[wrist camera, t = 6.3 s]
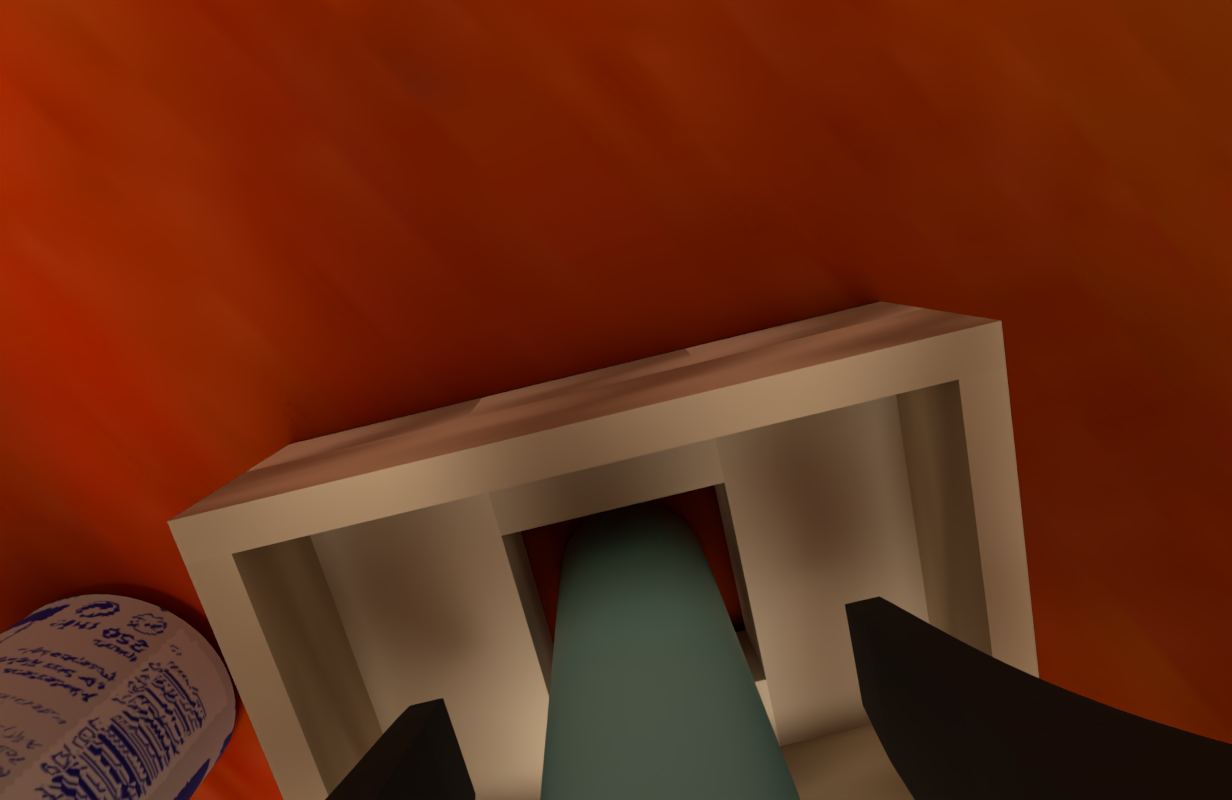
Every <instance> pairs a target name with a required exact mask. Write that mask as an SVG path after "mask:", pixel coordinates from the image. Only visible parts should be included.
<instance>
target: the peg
mask: <svg viewBox="0 0 1232 800" xmlns="http://www.w3.org/2000/svg"><path fill="white" fill-rule="evenodd" d="M540 800H800V797H799V794H798V792H797V789H796V787H795V784H794V782H793V779H792V776H791V774H790V771H789V769H788V766H787V764H786V761H785V758H784V756H783V753H782V751H781V748H780V746H779V743H778V740H777V738H776V735H775V733H774V730H773V728H772V725H771V722H770V720H769V717H768V715H767V712H766V710H765V707H764V704H763V702H762V699H761V697H760V694H759V692H758V689H757V686H756V684H755V681H754V679H753V676H752V674H751V671H750V668H749V666H748V663H747V661H746V658H745V656H744V653H743V650H742V648H741V645H740V643H739V640H738V638H737V635H736V632H735V630H734V627H733V625H732V622H731V620H730V617H729V614H728V612H727V609H726V607H725V604H724V602H723V599H722V596H721V594H720V591H719V589H718V586H717V583H716V581H715V578H714V576H713V573H712V571H711V568H710V565H709V563H708V560H707V558H706V555H705V553H704V550H703V547H702V545H701V542H700V540H699V539H698V537H697V535H696V533H695V532H694V531H693V529H692V528H691V527H690V526H689V525H688V524H687V523H686V522H685V521H684V520H683V519H682V518H680V517H679V516H678V515H676V514H675V513H673V512H671V511H669V510H667V509H665V508H662V507H660V506H656V505H652V504H647V503H637V504H633V505H628V506H624V507H620V508H616V509H612V510H607V511H603V512H599V513H595V514H594V515H592V516H591V517H589V518H588V519H587V520H585V521H584V522H583V523H582V524H581V525H580V526H579V527H578V528H577V529H576V531H575V532H574V533H573V535H572V536H571V538H570V539H569V541H568V543H567V545H566V548H565V550H564V553H563V557H562V562H561V571H560V582H559V593H558V604H557V616H556V627H555V638H554V649H553V660H552V671H551V683H550V694H549V705H548V716H547V727H546V739H545V750H544V761H543V772H542V783H541V795H540Z"/></svg>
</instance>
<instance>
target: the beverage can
mask: <svg viewBox="0 0 1232 800" xmlns="http://www.w3.org/2000/svg"><path fill="white" fill-rule="evenodd" d="M235 713H236V709H235V696H234V690H233V686H232V683H231V680H230V677H229V674H228V672H227V670H226V668H225V666H224V664H223V662H222V660H221V658H220V657H219V656H218V654H217V653H216V651H215V650H214V649H213V647H212V646H211V645H210V644H209V643H208V641H207V640H206V639H205V638H204V637H203V636H202V635H201V634H200V633H199V632H198V631H197V630H195V629H194V628H193V627H192V626H190V625H189V624H188V623H186V622H185V621H184V620H182V619H181V618H179V617H177V616H176V615H174V614H172V613H171V612H169V611H167V610H165V609H162V608H160V607H158V606H156V605H153V604H150V603H147V602H145V601H142V600H138V599H134V598H130V597H125V596H117V595H109V594H91V595H80V596H73V597H69V598H66V599H62V600H58V601H55V602H52V603H50V604H47V605H45V606H43V607H41V608H39V609H37V610H36V611H34V612H32V613H31V614H30V615H28V616H27V617H26V618H24V619H23V620H21V621H20V622H18V623H16V624H15V625H13V626H12V627H10V628H9V629H7V630H6V631H4V632H2V633H1V634H0V800H189V799H190V797H191V796H192V795H193V793H194V792H195V791H196V789H197V788H198V786H199V785H200V784H201V782H202V781H203V780H204V778H205V777H206V776H207V774H208V773H209V772H210V770H211V769H212V767H213V766H214V765H215V763H216V762H217V761H218V759H219V758H220V756H221V755H222V753H223V752H224V750H225V748H226V746H227V744H228V742H229V740H230V737H231V735H232V732H233V727H234V723H235Z"/></svg>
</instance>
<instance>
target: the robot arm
mask: <svg viewBox="0 0 1232 800" xmlns="http://www.w3.org/2000/svg"><path fill="white" fill-rule="evenodd" d="M845 609H846V615H847V620H848V626H849V632H850V637H851V643H852V649H853V654H854V660H855V666H856V671H857V677H858V682H859V688H860V694H861V699H862V705H863V707H864V709H865V711H866V713H867V715H868V717H869V719H870V722H871V724H872V726H873V728H874V730H875V732H876V734H877V736H878V738H879V740H880V742H881V744H882V746H883V748H884V750H885V752H886V754H887V756H888V758H889V760H890V762H891V763H892V765H893V766H894V768H895V770H896V771H897V773H898V774H899V776H900V777H901V779H902V781H903V782H904V784H905V785H906V787H907V788H908V790H909V792H910V793H911V795H912V796H913V798H914V799H915V800H1232V744H1229V743H1225V742H1221V741H1217V740H1214V739H1210V738H1207V737H1203V736H1200V735H1197V734H1193V733H1190V732H1187V731H1183V730H1180V729H1177V728H1174V727H1170V726H1167V725H1164V724H1160V723H1157V722H1154V721H1151V720H1148V719H1145V718H1142V717H1139V716H1136V715H1133V714H1130V713H1127V712H1124V711H1121V710H1118V709H1115V708H1113V707H1110V706H1107V705H1105V704H1102V703H1099V702H1097V701H1094V700H1091V699H1089V698H1086V697H1083V696H1081V695H1078V694H1076V693H1073V692H1070V691H1068V690H1065V689H1063V688H1060V687H1058V686H1056V685H1053V684H1051V683H1048V682H1046V681H1044V680H1042V679H1039V678H1037V677H1035V676H1033V675H1031V674H1028V673H1026V672H1024V671H1022V670H1020V669H1017V668H1015V667H1013V666H1011V665H1009V664H1006V663H1004V662H1002V661H1000V660H998V659H996V658H994V657H992V656H990V655H988V654H986V653H984V652H982V651H980V650H978V649H976V648H974V647H972V646H970V645H968V644H966V643H964V642H962V641H960V640H958V639H957V638H955V637H953V636H951V635H949V634H947V633H945V632H944V631H942V630H940V629H938V628H936V627H934V626H933V625H931V624H929V623H927V622H925V621H924V620H922V619H920V618H918V617H916V616H915V615H913V614H911V613H909V612H907V611H906V610H904V609H902V608H900V607H898V606H897V605H895V604H893V603H891V602H889V601H887V600H886V599H884V598H882V597H880V596H878V597H874V598H869V599H865V600H861V601H857V602H852V603H848V604H845ZM475 796H476V793H475V791H474V788H473V785H472V782H471V779H470V776H469V773H468V770H467V767H466V764H465V761H464V758H463V755H462V752H461V749H460V746H459V743H458V740H457V737H456V734H455V731H454V729H453V726H452V723H451V720H450V717H449V714H448V711H447V708H446V705H445V702H444V699H443V698H440V699H436V700H432V701H427V702H423V703H419V704H415V705H410V706H409V707H408V708H407V709H406V710H405V711H404V712H403V713H402V714H401V715H400V716H399V717H398V718H397V719H396V720H395V721H394V722H393V724H392V725H391V726H390V727H389V728H388V729H387V730H386V731H385V732H384V734H383V735H382V736H381V737H380V738H379V739H378V740H377V742H376V743H375V744H374V745H373V746H372V747H371V748H370V750H369V751H368V752H367V753H366V754H365V755H364V756H363V758H362V759H361V760H360V761H359V762H358V763H357V764H356V765H355V767H354V768H353V769H352V770H351V771H350V772H349V773H348V775H347V776H346V777H345V778H344V779H343V780H342V781H341V782H340V784H339V785H338V786H337V787H336V788H335V789H334V790H333V791H332V793H331V794H330V795H329V796H328V797H327V798H326V799H325V800H475Z"/></svg>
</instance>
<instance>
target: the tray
mask: <svg viewBox="0 0 1232 800" xmlns="http://www.w3.org/2000/svg"><path fill="white" fill-rule="evenodd" d="M712 485H714V486H715V491H716V495H717V500H718V505H719V509H720V514H721V518H722V523H723V528H724V532H725V537H726V542H727V546H728V551H729V556H730V560H731V565H732V569H733V574H734V579H735V583H736V588H737V593H738V597H739V602H740V607H741V611H742V616H743V620H744V625H745V630H743V631H738V632H736V635H737V638H738V640H739V643H740V645H741V648H742V650H743V653H744V656H745V658H746V661H747V663H748V666H749V668H750V671H751V674H752V676H753V679H754V681H755V684H756V686H757V689H758V692H759V694H760V697H761V699H762V702H763V704H764V707H765V710H766V712H767V715H768V717H769V720H770V722H771V725H772V728H773V730H774V733H775V735H776V738H777V740H778V743H779V746H780V748H781V751H782V753H783V756H784V758H785V761H786V764H787V766H788V769H789V771H790V774H791V776H792V779H793V782H794V784H795V787H796V789H797V792H798V794H799V797H800V800H915V799H914V798H913V796H912V795H911V793H910V792H909V790H908V788H907V787H906V785H905V784H904V782H903V781H902V779H901V777H900V776H899V774H898V773H897V771H896V770H895V768H894V766H893V765H892V763H891V762H890V760H889V758H888V756H887V754H886V752H885V750H884V748H883V746H882V744H881V742H880V740H879V738H878V736H877V734H876V732H875V730H874V728H873V726H872V724H871V722H870V719H869V717H868V715H867V713H866V711H865V709H864V707H863V705H862V699H861V694H860V688H859V682H858V677H857V671H856V666H855V660H854V654H853V649H852V643H851V637H850V632H849V626H848V620H847V615H846V609H845V604H848V603H852V602H857V601H861V600H865V599H869V598H874V597H878V596H880V597H882V598H884V599H886V600H887V601H889V602H891V603H893V604H895V605H897V606H898V607H900V608H902V609H904V610H906V611H907V612H909V613H911V614H913V615H915V616H916V617H918V618H920V619H922V620H924V621H925V622H927V623H929V624H931V625H933V626H934V627H936V628H938V629H940V630H942V631H944V632H945V633H947V634H949V635H951V636H953V637H955V638H957V639H958V640H960V641H962V642H964V643H966V644H968V645H970V646H972V647H974V648H976V649H978V650H980V651H982V652H984V653H986V654H988V655H990V656H992V657H994V658H996V659H998V660H1000V661H1002V662H1004V663H1006V664H1009V665H1011V666H1013V667H1015V668H1017V669H1020V670H1022V671H1024V672H1026V673H1028V674H1031V675H1033V676H1035V677H1037V678H1039V673H1038V664H1037V655H1036V645H1035V636H1034V626H1033V617H1032V607H1031V598H1030V588H1029V579H1028V569H1027V560H1026V550H1025V541H1024V531H1023V522H1022V512H1021V503H1020V493H1019V484H1018V475H1017V465H1016V456H1015V446H1014V437H1013V427H1012V418H1011V408H1010V399H1009V389H1008V380H1007V370H1006V361H1005V351H1004V342H1003V332H1002V323H1001V320H994V319H988V318H982V317H976V316H969V315H963V314H957V313H950V312H944V311H938V310H932V309H925V308H919V307H913V306H907V305H900V304H894V303H888V302H881V301H880V302H876V303H872V304H868V305H864V306H860V307H855V308H851V309H847V310H843V311H839V312H835V313H831V314H827V315H822V316H818V317H814V318H810V319H806V320H802V321H798V322H793V323H789V324H785V325H781V326H777V327H773V328H769V329H764V330H760V331H756V332H752V333H748V334H744V335H740V336H735V337H731V338H727V339H723V340H719V341H715V342H711V343H707V344H702V345H698V346H694V347H690V348H686V349H682V350H678V351H673V352H669V353H665V354H661V355H657V356H653V357H649V358H644V359H640V360H636V361H632V362H628V363H624V364H620V365H615V366H611V367H607V368H603V369H599V370H595V371H591V372H587V373H582V374H578V375H574V376H570V377H566V378H562V379H558V380H553V381H549V382H545V383H541V384H537V385H533V386H529V387H524V388H520V389H516V390H512V391H508V392H504V393H500V394H495V395H491V396H487V397H483V398H479V399H475V400H471V401H467V402H462V403H458V404H454V405H450V406H446V407H442V408H438V409H433V410H429V411H425V412H421V413H417V414H413V415H409V416H404V417H400V418H396V419H392V420H388V421H384V422H380V423H375V424H371V425H367V426H363V427H359V428H355V429H351V430H347V431H342V432H338V433H334V434H330V435H326V436H322V437H318V438H313V439H309V440H305V441H301V442H297V443H293V444H289V445H287V446H286V447H284V448H282V449H281V450H279V451H278V452H276V453H275V454H273V455H271V456H270V457H268V458H267V459H265V460H263V461H262V462H260V463H259V464H257V465H256V466H254V467H252V468H251V469H249V470H248V471H246V472H244V473H243V474H241V475H240V476H238V477H237V478H235V479H233V480H232V481H230V482H229V483H227V484H226V485H224V486H222V487H221V488H219V489H218V490H216V491H214V492H213V493H211V494H210V495H208V496H207V497H205V498H203V499H202V500H200V501H199V502H197V503H195V504H194V505H192V506H191V507H189V508H188V509H186V510H184V511H183V512H181V513H180V514H178V515H176V516H175V517H173V518H172V519H170V520H169V521H167V523H168V525H169V528H170V530H171V532H172V535H173V537H174V539H175V542H176V544H177V547H178V549H179V551H180V554H181V556H182V559H183V561H184V563H185V566H186V568H187V570H188V573H189V575H190V578H191V580H192V582H193V585H194V587H195V589H196V592H197V594H198V597H199V599H200V601H201V604H202V606H203V609H204V611H205V613H206V616H207V618H208V620H209V623H210V625H211V628H212V630H213V632H214V635H215V637H216V640H217V642H218V644H219V647H220V649H221V651H222V654H223V656H224V659H225V661H226V663H227V666H228V668H229V671H230V673H231V675H232V678H233V680H234V682H235V685H236V687H237V690H238V692H239V694H240V697H241V699H242V702H243V704H244V706H245V709H246V711H247V713H248V716H249V718H250V721H251V723H252V725H253V728H254V730H255V733H256V735H257V737H258V740H259V742H260V744H261V747H262V749H263V752H264V754H265V756H266V759H267V761H268V764H269V766H270V768H271V771H272V773H273V775H274V778H275V780H276V783H277V785H278V787H279V790H280V792H281V795H282V797H283V799H284V800H325V799H326V798H327V797H328V796H329V795H330V794H331V793H332V791H333V790H334V789H335V788H336V787H337V786H338V785H339V784H340V782H341V781H342V780H343V779H344V778H345V777H346V776H347V775H348V773H349V772H350V771H351V770H352V769H353V768H354V767H355V765H356V764H357V763H358V762H359V761H360V760H361V759H362V758H363V756H364V755H365V754H366V753H367V752H368V751H369V750H370V748H371V747H372V746H373V745H374V744H375V743H376V742H377V740H378V739H379V738H380V737H381V736H382V735H383V734H384V732H385V731H386V730H387V729H388V728H389V727H390V726H391V725H392V724H393V722H394V721H395V720H396V719H397V718H398V717H399V716H400V715H401V714H402V713H403V712H404V711H405V710H406V709H407V708H408V707H409V706H410V705H415V704H419V703H423V702H427V701H432V700H436V699H440V698H443V699H444V702H445V705H446V708H447V711H448V714H449V717H450V720H451V723H452V726H453V729H454V731H455V734H456V737H457V740H458V743H459V746H460V749H461V752H462V755H463V758H464V761H465V764H466V767H467V770H468V773H469V776H470V779H471V782H472V785H473V788H474V791H475V793H476V796H475V800H540V795H541V783H542V772H543V761H544V750H545V739H546V727H547V716H548V705H549V694H550V683H551V671H552V660H553V649H554V644H553V640H552V637H551V633H550V630H549V627H548V623H547V620H546V616H545V613H544V609H543V606H542V602H541V599H540V596H539V592H538V589H537V585H536V582H535V578H534V575H533V572H532V568H531V565H530V561H529V558H528V554H527V551H526V547H525V544H524V541H523V537H522V534H521V531H524V530H528V529H532V528H536V527H541V526H545V525H549V524H553V523H557V522H561V521H566V520H570V519H574V518H578V517H582V516H587V515H591V514H595V513H599V512H603V511H607V510H612V509H616V508H620V507H624V506H628V505H633V504H637V503H641V502H645V501H649V500H653V499H658V498H662V497H666V496H670V495H674V494H679V493H683V492H687V491H691V490H695V489H699V488H704V487H708V486H712Z"/></svg>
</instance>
